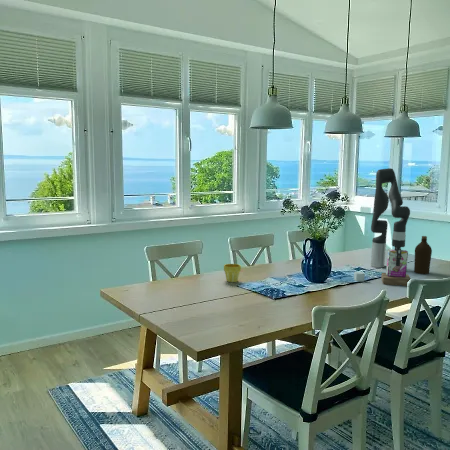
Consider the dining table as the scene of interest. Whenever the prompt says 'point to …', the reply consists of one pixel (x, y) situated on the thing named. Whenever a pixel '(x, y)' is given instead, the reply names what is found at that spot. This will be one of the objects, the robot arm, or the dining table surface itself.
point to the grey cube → (359, 276)
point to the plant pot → (232, 272)
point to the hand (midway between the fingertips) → (396, 264)
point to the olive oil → (422, 257)
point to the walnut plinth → (395, 280)
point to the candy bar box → (391, 264)
